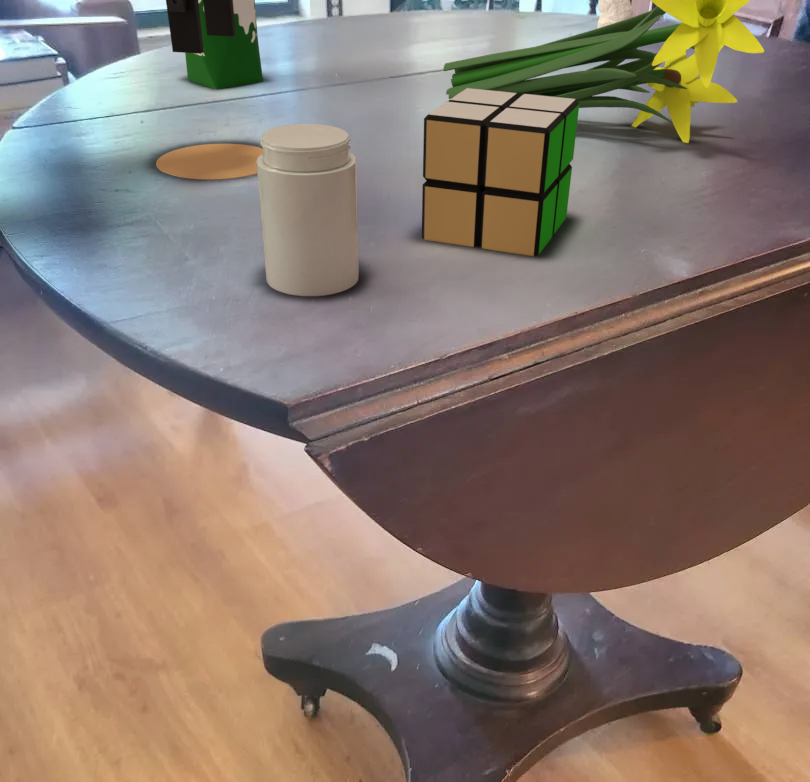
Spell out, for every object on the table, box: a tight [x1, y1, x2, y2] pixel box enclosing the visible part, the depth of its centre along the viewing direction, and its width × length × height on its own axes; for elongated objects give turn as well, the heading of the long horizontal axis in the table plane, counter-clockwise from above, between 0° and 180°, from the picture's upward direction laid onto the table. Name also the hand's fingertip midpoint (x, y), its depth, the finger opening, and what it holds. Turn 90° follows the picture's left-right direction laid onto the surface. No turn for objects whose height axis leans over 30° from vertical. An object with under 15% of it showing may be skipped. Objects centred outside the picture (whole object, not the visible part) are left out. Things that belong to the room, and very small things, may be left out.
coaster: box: [155, 143, 263, 180], centre depth 94 cm, size 12×12×1 cm
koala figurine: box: [597, 0, 634, 29], centre depth 139 cm, size 8×7×12 cm
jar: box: [256, 123, 360, 297], centre depth 68 cm, size 7×7×11 cm
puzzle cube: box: [421, 88, 580, 257], centre depth 77 cm, size 10×10×10 cm
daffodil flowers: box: [442, 0, 765, 144], centre depth 100 cm, size 17×15×35 cm
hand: (205, 42), depth 88 cm, fingers closed on lid, 7 cm apart
